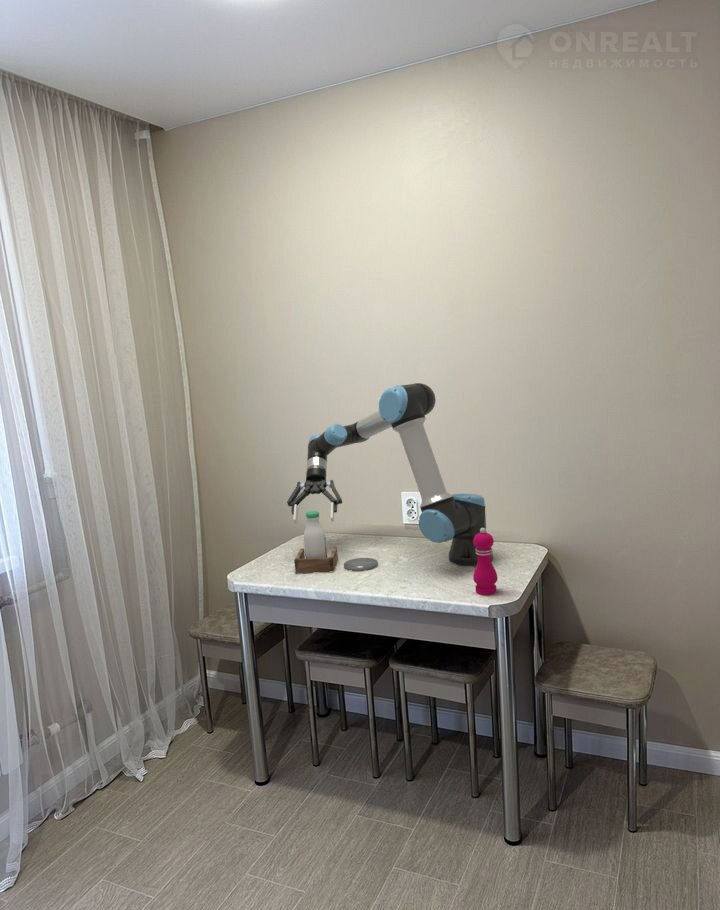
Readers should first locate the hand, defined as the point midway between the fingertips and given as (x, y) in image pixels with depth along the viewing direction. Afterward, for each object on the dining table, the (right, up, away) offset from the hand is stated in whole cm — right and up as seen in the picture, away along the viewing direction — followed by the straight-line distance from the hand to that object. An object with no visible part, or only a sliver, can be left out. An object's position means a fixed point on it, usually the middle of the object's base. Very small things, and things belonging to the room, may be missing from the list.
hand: (313, 520), depth 254 cm
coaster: (+17, -15, -6) cm, 24 cm away
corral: (+2, -16, -4) cm, 17 cm away
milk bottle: (+2, -16, -4) cm, 17 cm away
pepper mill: (+55, -18, -40) cm, 71 cm away
